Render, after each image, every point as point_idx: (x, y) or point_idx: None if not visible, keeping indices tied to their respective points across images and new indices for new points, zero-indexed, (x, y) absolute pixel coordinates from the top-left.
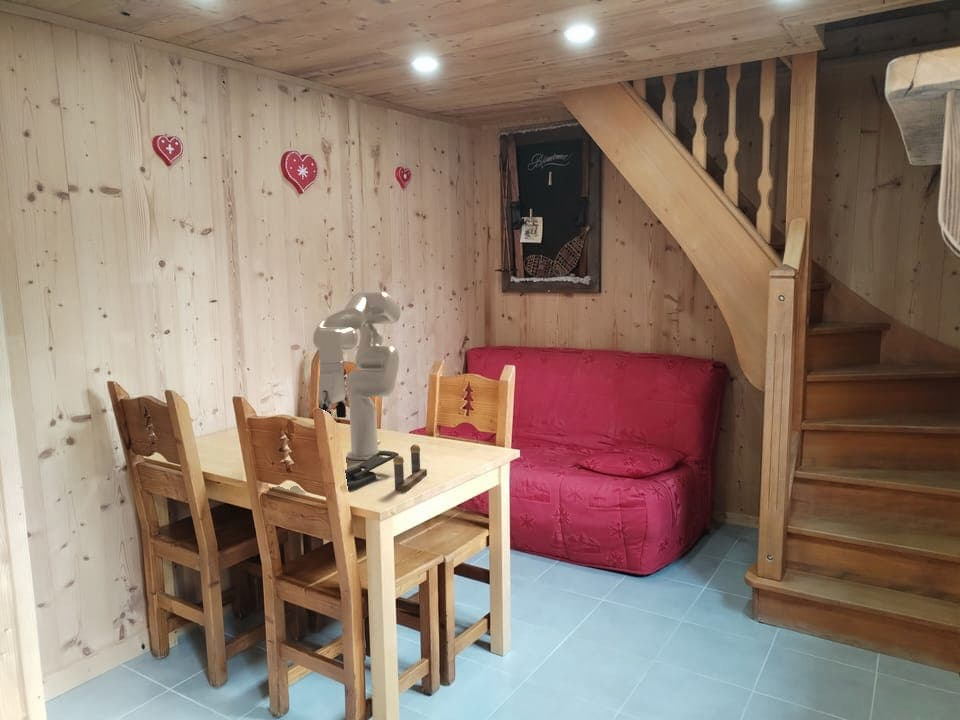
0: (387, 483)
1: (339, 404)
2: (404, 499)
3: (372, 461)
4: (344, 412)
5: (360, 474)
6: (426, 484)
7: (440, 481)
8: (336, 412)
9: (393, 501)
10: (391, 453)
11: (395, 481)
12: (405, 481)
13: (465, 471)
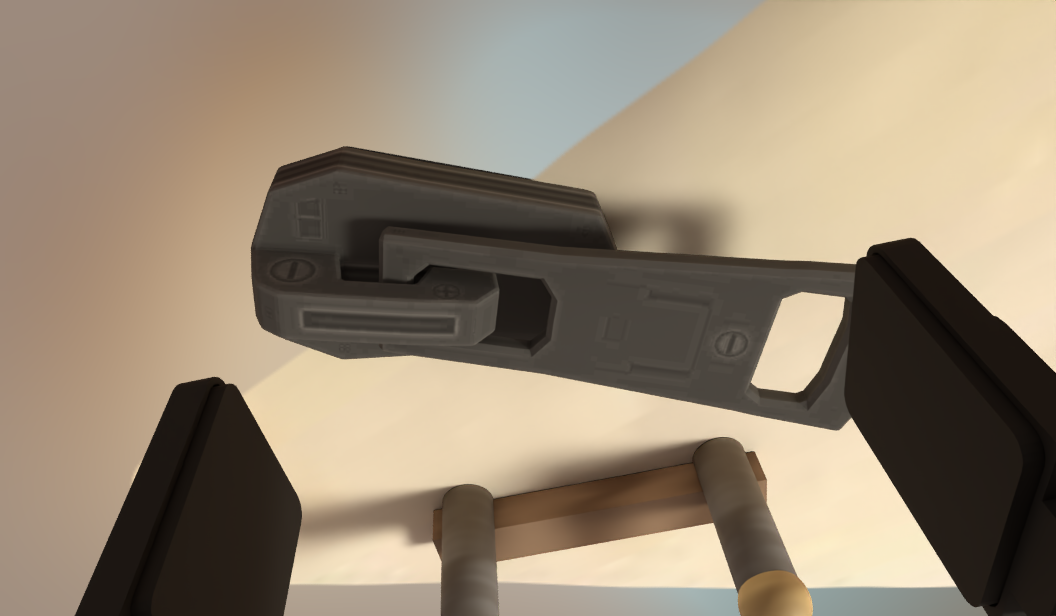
0: (536, 405)
1: (1049, 559)
2: (349, 579)
3: (654, 333)
4: (895, 478)
5: (422, 354)
6: (597, 549)
7: (664, 569)
8: (917, 314)
9: (296, 561)
10: (836, 390)
11: (443, 539)
12: (508, 538)
13: (854, 578)
